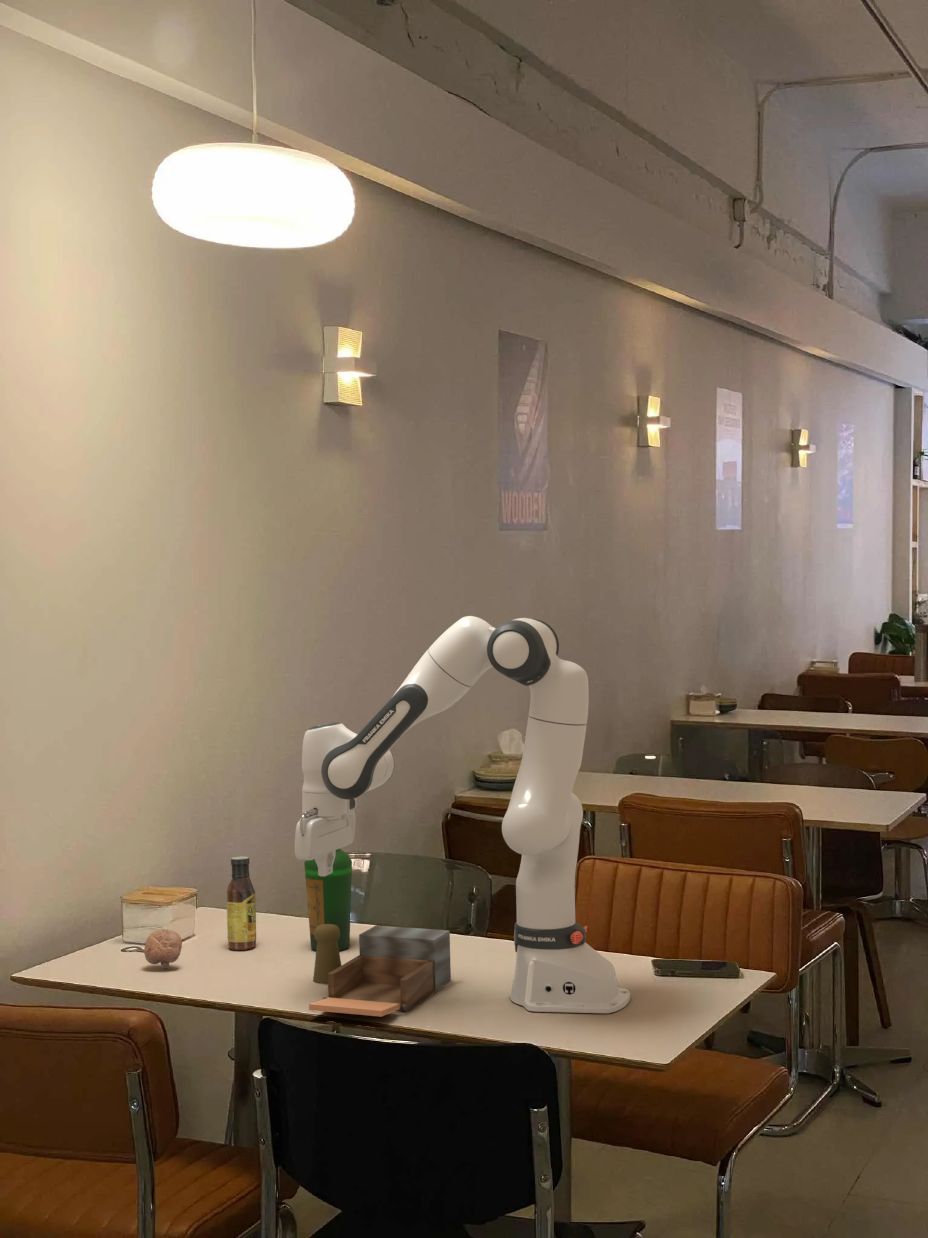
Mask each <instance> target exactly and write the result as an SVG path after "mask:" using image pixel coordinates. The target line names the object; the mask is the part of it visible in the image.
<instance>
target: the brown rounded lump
mask: <svg viewBox="0 0 928 1238" xmlns="http://www.w3.org/2000/svg"><path fill="white" fill-rule="evenodd" d="M147 937H148V938H146V942H145V944H144V947H143V948H144V949H143V950H144V952H143V953H144V958H145V961H147V962H148V963H149V964H151V965H159V964H160V965H161V967H162V968H163V969H165V970H168V969H169V968H170V964H171V963H174V962H176V961H177V960H178V959H179V957H180V955H181V951H182V948H183V947H182V946H183V942H182V938H181V936H180V934H179V933H178V932H176V931H174V930H171V929H170V930H169V929H165V928H159V929H156V930H154V931H152V932H151V933H149V936H147Z"/></svg>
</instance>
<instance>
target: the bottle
mask: <svg viewBox="0 0 928 1238" xmlns="http://www.w3.org/2000/svg"><path fill="white" fill-rule="evenodd" d="M352 873H353V861H352V858H351V857H350V856H349V854H348V853H347V852H346V851H344V850H343V849H342V848H340V849H337V850H336V856H335V859H334V863H333V872H332V873H331V874H329V875H327V876H319V875H318V866H317V864H316V861H315V859H313V860H304V876H305V888H306V901H307V911H308V912H307V913H308V923H309V924H308V926H309V935H310V937H309V938H310V948H311V949H312V950H314V951H316V948H317V941H316V940H315V937H314V931H315V929H316V927H317V926H319V925H323V924H333V925H336V926H338V928H339V929H340V938H339V939H338V947H339V952H340V951H343V950H346V949H347V948H349V947H350V945H351V944H350V943H351V942H350V939H351V909H352V904H351V903H352V877H353V876H352V875H353V874H352Z"/></svg>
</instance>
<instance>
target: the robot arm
mask: <svg viewBox="0 0 928 1238" xmlns="http://www.w3.org/2000/svg"><path fill="white" fill-rule="evenodd" d="M559 652H560V641H559V637H558V635H557V633H556V631H555V629H553V628H552V626H551V625H549V624H548V623H547V622H546V621H542V620H541V619H537V618H529V617H528V618H527V617H520V618H519V617H518V618H514V619H512V620H508V621H507V620H506V621H504V622H502V623H501V624H499V625H498V626H496V627H494V626H492V625H491V624H490V623H489V622H488V621H486V620H484V619H483V618H481V617H478V616H474V615H468V616H467V615H466V616H463V617H461V618H459V619H458V620H457V621H455V622H454V623H453V624H452V625H451V626H449V627H448V628H447V629H446V630H445V631H444V632H443V633H441V634H440V636H439V637H437V639H435V641H434V642H433V643H432V644H431V645H430V646H429V648H428V649H427V650H426V651H425V652H424V653H423V654H422V656H421V657H420V659H419V660H418V661H417V663H415V665H414V667H413V668H412V669H411V671H410V672H409V673H408V675H407V676H406V678H405V679H404V680H403V682H402V683H401V685H400V686H399V687H398V688H397V690H396V691H395V692H394V694H393V695H392V696H391V698H390V699H389V700H388V701H387V702H386V703H385V704H384V706H382V708H381V709H380V710H379V711H378V712H377V713H376V714H375V715H374V716H373V717H372V718H371V720H370V721H369V722H368V723H367V724H366V725H365V726H363V729H361V731H360V732H358V733H355V732H354V731H352V730H350V729H349V728H347V726H345V724H344V723H341V722H338V721H337V722H336V721H334V722H333V721H332V722H327V723H322V724H317V725H313V726H311V727H309V728H308V729H306V731H305V732H304V736H303V738H302V739H303V741H302V749H301V750H302V752H301V753H302V754H301V770H302V774H303V783H302V787H301V788H302V789H301V795H302V796H301V798H302V799H301V802H302V803H301V805H302V807H301V808H302V809H301V811H302V816H301V817H300V819H299V821H298V822H297V824H296V825H295V826H296V827H295V835H294V836H295V837H294V856H295V858H296V859H297V860H298V861H300V860H302V861H305V860H313V859H315V861H316V864H317V866H318V875H319V876H327V875H329V874H331V873H332V872H333V863H334V859H335V856H336V850H337V849H342V848H345V847H346V846H350V845H351V844H353V842H354V840H355V835H356V834H355V833H356V813H355V809H357V804H358V803H357V802H358V801H357V798H359V797H360V796H361V795H363V794H364V793H365V794H366V793H367V792H370V791H372V790H374V789H376V788H378V787H381V786H383V785H384V784H385V783H387V782H388V781H389V780H390V779H391V778H392V776H393V773H394V770H395V758H394V756H393V753H392V751H391V749H392V748H393V746H395V744H397V742H398V741H399V740H400V739H401V738H402V737H403V736H404V735H405V734H406V732H408V731H409V730H410V729H412V728H413V727H414V726H416V725H417V724H418V723H420V722H423V721H424V720H426V719H428V718H430V717H432V716H435V715H437V714H439V713H442V712H444V711H446V710H448V709H449V708H451V707H452V706H454V705H455V703H457V702H458V701H459V700H461V698H463V697H464V696H465V695H466V694H467V693H468V691H470V689H471V688H472V687H473V686H474V685H475V683H476V682H477V681H478V680H480V678H481V676H483V674H485V673H486V671H488V670H489V669H491V668H494V670H496V671H497V672H498V673H499V674H501V675H502V676H504V677H506V678H509V679H511V680H513V681H514V682H517V683H519V684H521V685H522V686H525V687H529V691H530V701H529V703H530V704H529V707H528V708H529V709H528V716H527V723H526V731H525V738H524V745H523V751H522V755H521V756H522V757H521V762H520V765H519V768H518V771H517V775H516V778H515V782H514V785H513V788H512V792H511V796H510V800H509V803H508V807H507V810H506V811H505V814H504V817H503V818H502V821H501V833H502V837H503V840H504V842H505V843H506V845H507V846H508V847H509V848H510V849H511V850H512V851H514V852H515V853H517V854H519V855H521V860H520V864H519V865H520V866H519V870H518V874H517V877H516V879H515V880H516V881H515V896H516V897H515V898H516V899H515V902H516V903H515V904H516V922H514V932H513V933H514V934H513V943H514V944H513V945H514V949H515V950H514V951H515V953H516V956H515V957H516V958H515V969H514V974H513V975H514V977H513V981H512V982H513V983H512V987H511V991H510V995H509V999H510V1000H511V1001H512V1002H513V1003H515V1004H517V1005H520V1006H522V1007H523V1008H525V1010H527V1011H529V1012H540V1013H541V1012H545V1013H573V1014H574V1013H578V1014H579V1013H580V1014H582V1013H583V1014H610V1013H615V1012H618V1011H620V1010H622V1009H623V1008H624V1007H626V1006H627V1005H628V1004H629V1002H630V1001H631V993H630V990H628V989H627V988H624V987H620V986H619V982H618V981H619V980H618V975H617V972H616V969H615V967H614V965H613V963H612V962H611V961H610V960H608V959H607V958H606V957H604V956H603V955H602V954H600V953H599V952H598V951H597V950H596V949H594V948H593V947H592V946H591V945H590V944H588V943H587V933H588V930H587V929H588V925H584V926H582V925H580V924H579V922H577V921H576V894H575V893H576V890H575V886H576V885H575V884H576V872H577V864H578V855H579V846H580V845H579V844H580V835H581V828H582V827H581V826H582V822H583V817H584V810H583V805H582V803H581V800H580V799H579V797H578V796H577V795H576V794H574V793H573V788H574V785H575V781H576V780H577V779H576V778H577V777H578V772H579V771H580V768H581V767H582V766H581V765H582V761H583V754H584V747H585V741H586V734H587V733H586V732H587V725H588V717H589V701H590V699H589V698H590V697H589V696H590V693H589V691H590V689H589V677H588V674H587V672H586V670H585V669H584V668H583V667H582V666H581V665H579V664H577V663H576V662H573V661H570V660H567V659H566V660H564V659H562V658H560V657H558V656H559Z"/></svg>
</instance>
